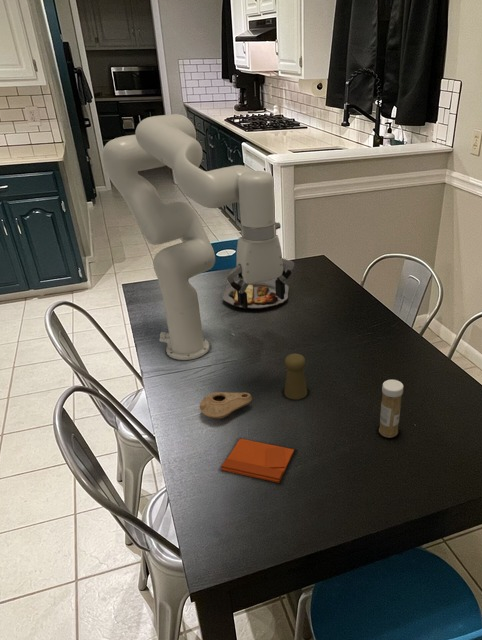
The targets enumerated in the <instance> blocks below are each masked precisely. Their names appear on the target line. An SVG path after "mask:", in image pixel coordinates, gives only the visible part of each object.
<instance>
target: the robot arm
mask: <svg viewBox="0 0 482 640" xmlns="http://www.w3.org/2000/svg"><path fill="white" fill-rule="evenodd" d="M202 161H203V148H202V145H201V143H200V142H199V141H198V140H197V132H196V128H195V125H194V124H193V122H192V121H191V119H189V118H188V117H187V116H185V115H183V114H180V113H173V114H171V113H169V114H163V115H162V114H161V115H153V116H149V117H146V118H143V119H142V120H141V121H140V122H139V123H138V124H137V126H136V128H135V133H134V134H130V135H124V136H119V137H115V138H114V139H110V140H109V141H108V142H106V143H105V145H104V146H103V149H102V162H103V166H104V169H105V172H106V175H107V176H108V179H109V180H110V182H111V184H112V185H113V186H114V187H115V189H116V190H117V191H118V192H119V194H120V195H121V197H122V198H123V200H124V201H125V203H126V205H127V206H128V209H129V211H130V212H131V215H132V217H133V218H134V220H135V222H136V224H137V226H138V228H139V230H140V232H141V235H142V236H143V238H144V239H145V240H146V241H147V243H148V244H150V245H152V246H158V245H163V244H167V243H170V242H173V241H176V240H179V239H180V240H181V241H182V242H179V243H176V244H173V245H170V246H167V247H165V248H163V249H160V250H159V251H158V252H156V254H155V255H154V257H153V259H152V260H153V261H152V266H153V270H154V273H155V275H156V278H157V281H158V283H159V287H160V292H161V297H162V301H163V306H164V307H163V308H164V311H165V312H164V313H165V319H166V325H167V330H168V332H166V331H161V332H160V334H159V342H160V343H166V344H167V345H166V348H165V351H166V354H167V356H168V357H170V358H172V359H174V360H179V361H189V360H195V359H198V358H200V357H202V356H205V354H207V353H208V352H209V351H210V348H211V347H210V346H211V345H210V342H209V341H208V340H207V339H206V338H205V337H204V333H203V327H202V326H203V325H202V318H201V311H200V302H199V297H198V292H197V289H196V288H195V287H194V286H193V285H192V284H191V283H190V281H189V280H190V279H191V278H194V277H195V276H198V275H201V274H203V273H205V272H207V271H209V270H211V269H212V268H214V266H215V264H216V254H215V250H214V248H213V246H212V243H211V242H210V239H209V237H208V235H207V233H206V231H205V228H204V226H203V224H202V222H201V220H200V218H199V216H198V214H197V212H196V211H195V210H194V209H193V207H191V205H190V204H188V203H186V202H183V201H174V202H170V203H164V202H163V200H162V199H161V197H160V195H159V193H158V190H157V189H156V187H155V186H154V185H153V184H152V183H151V182H150V181H149V180H148V179H147V178H145V177H144V176H142V175H140V174H139V172H141V171H147V170H152V169H156V168H163V167H165V166H167V167H168V168H169V169H170V170H173V174H174V178H175V181H176V184H177V186H178V187H179V189H180V191H181V192H182V193H183V194H184V195H185V196H186V197H188V198H189V199H191V200H192V201H194V202H195V203H196V204H198V205H200V206H202V207H204V208H206V209H207V208H208V209H217V208H222V207H224V206H228V205H231V204H236V203H238V204H239V215H240V228H241V229H240V231H241V232H240V233H241V236H240V237H238V238H237V245H236V257H235V258H236V261H235V263H236V264H235V267H234V268H233V269H231V270H230V271H228V272H227V273H226V274H225V275H224V279H225V280H226V282H227V283H228V285H230V286H232V287H233V288H234V289H235V290H237V296H238V303H239V304H240V305H241V306H242V307H243V308H242V309H244V310H245V309H249V308H248V303H247V293H246V292H245V290H246V288H247V287H248V285H249V284H253V283H257V282H262V281H266V280H271V279H272V280H276V281H275V288H276V296H277V297H279V298H280V299H284V294H285V284H287V283H288V279H289V278H290V276H291V275H292V271H293V269H294V267H295V262H293V261H292V260H290V259H287V258H284V257H283V252H282V247H281V243H280V238H279V234H277V230H280V229H281V223H280V222H276V206H275V205H276V204H275V203H276V201H275V180H274V177H273V175H272V173H270V172H268V171H262V170H254V169H252V168H250V167H248V166H245V165H241V164H236V165H231V166H226V167H221V168H220V167H219V168H216V169H211V170H209V171H207V170H203V169H201V168H200V166H201V164H202ZM284 266H285V268H284ZM235 277H237V278H238V280H237V281H238V282H237V283H235V281H236V280H235Z"/></svg>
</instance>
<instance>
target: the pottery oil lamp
mask: <svg viewBox="0 0 482 640" xmlns="http://www.w3.org/2000/svg"><path fill="white" fill-rule="evenodd" d="M251 401H253V397H252V395H251V394H250V393H249V392H245V391H244V392H241V391H240V392H226V391H222V392H221V391H220V392H219V391H217V392H211V393H209V394H208V395H205V397H203V399H202V400H201V401H200V403H199V410H200V412H201V413H202V414H203V415H204V416H205V417H207V418H213V419H225V418H227V417H228V416H230V414H232V413H233V412H235V411H237V410H240V409H242V408H243V407H245V406H247V405H249V404H250V403H251Z"/></svg>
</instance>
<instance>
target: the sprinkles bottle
mask: <svg viewBox="0 0 482 640" xmlns="http://www.w3.org/2000/svg"><path fill="white" fill-rule="evenodd" d="M381 393H382V396H381V397H382V398H381V402H380V403H381V404H380V413H379V428H378V433H379V434H380V435H381V436H382V437H384V438H388V439H389V438H391V439H392V438H395V437H396V436H397V435H398V434H399V425H400V424H399V423H400V416H401V415H400V414H401V408H402V407H401V405H402V395H403V394H404V384H403V383H402V381H399V380H398V379H387V380H385V381H384V382H383V383H382V386H381Z"/></svg>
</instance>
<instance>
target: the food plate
mask: <svg viewBox="0 0 482 640" xmlns="http://www.w3.org/2000/svg"><path fill="white" fill-rule="evenodd" d="M276 280H277V279H271V280H266V281H262V282H257V283H253V284H249V285H248V287H247V288H246V290H245V292H246V293H247V303H248V308H247V309H255V310H258V309H259V310H260V309H267V308H270V307H276V306H279V305H281V304H284V302H287V300H288V298H289V291H290V289H289V285H288V284H287V283H285V294H284V299H280V298H279V297H277V296H276V288H275V281H276ZM234 281H235V283H237V282H238V281H239V280H234ZM223 289H224V290H223V291H222V295H221V298H222V300H223V302H225V303H227V304H228V305H230V306H232V307H236V308H238V309H239V308H240V309H241V308H242V309H244V308H243V307H242V306H241V305H240V304H239V303H238V296H237V290H235V289H234V288H233V287H232V286H230V285H229V284H228V285H226V286H225V287H224V288H223Z"/></svg>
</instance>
